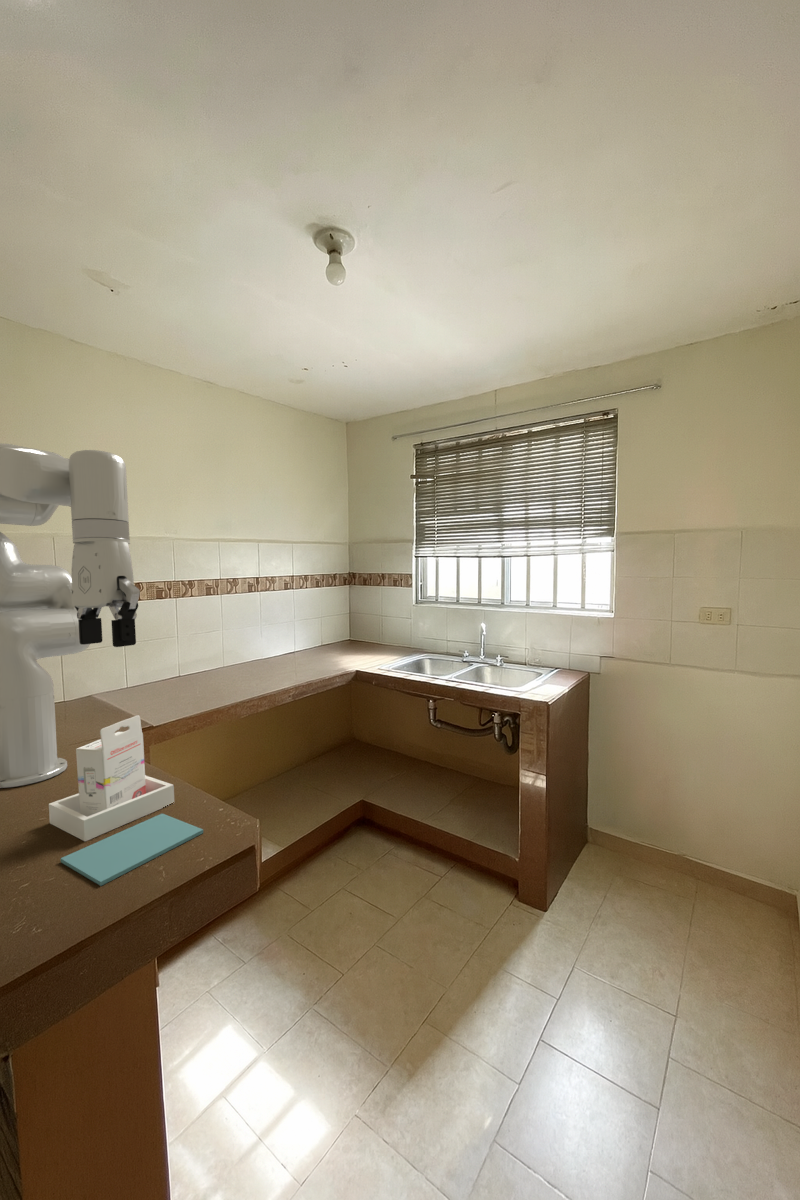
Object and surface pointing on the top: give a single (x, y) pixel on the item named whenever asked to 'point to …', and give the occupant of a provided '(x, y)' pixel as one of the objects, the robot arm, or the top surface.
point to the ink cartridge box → (111, 767)
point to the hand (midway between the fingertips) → (107, 644)
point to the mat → (130, 848)
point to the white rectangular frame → (109, 811)
